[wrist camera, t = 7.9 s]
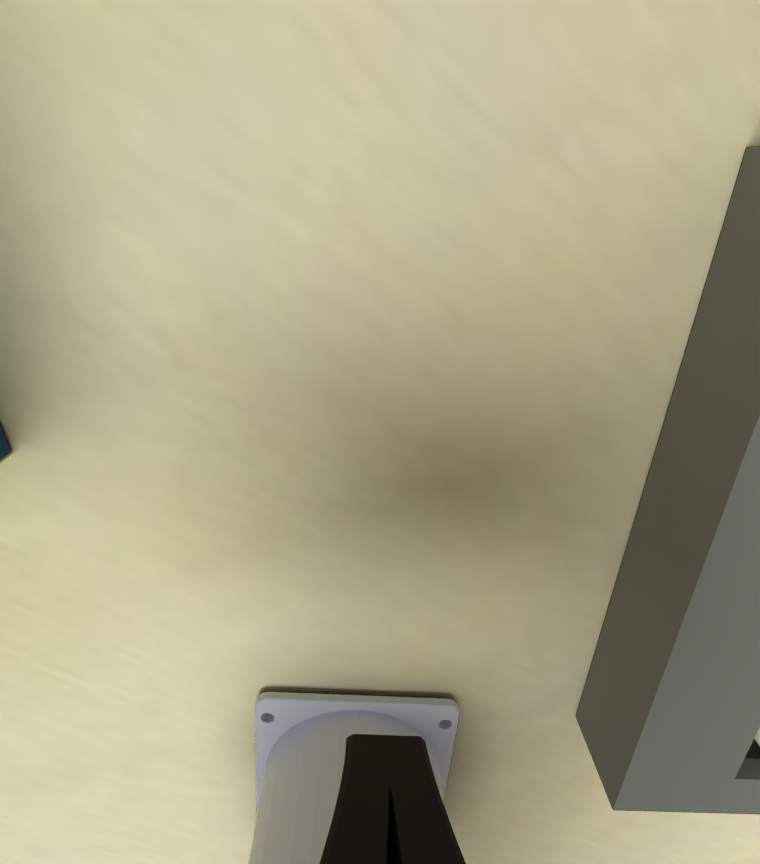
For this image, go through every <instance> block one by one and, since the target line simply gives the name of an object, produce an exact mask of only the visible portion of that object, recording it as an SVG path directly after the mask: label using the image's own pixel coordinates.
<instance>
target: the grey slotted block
mask: <svg viewBox="0 0 760 864" xmlns="http://www.w3.org/2000/svg"><path fill="white" fill-rule="evenodd" d="M576 718H577V721H578V723H579V726H580V728H581V731H582V733H583V736H584V739H585V741H586V744H587V746H588V749H589V751H590V754H591V756H592V759H593V761H594V764H595V766H596V769H597V771H598V774H599V776H600V779H601V781H602V784H603V786H604V789H605V792H606V794H607V797H608V799H609V802H610V804H611V807H612V809H613V810H625V811H660V812H694V813H729V814H760V746H759V744H758V743H757V742H756V740H755V739H754V738H755V736H756V734H757V732H758V730H759V728H760V146H755V147H747V148H746V151H745V154H744V158H743V161H742V164H741V168H740V171H739V174H738V178H737V181H736V184H735V188H734V191H733V194H732V198H731V201H730V204H729V208H728V211H727V214H726V218H725V221H724V224H723V228H722V231H721V234H720V238H719V241H718V244H717V248H716V251H715V254H714V258H713V261H712V264H711V268H710V271H709V274H708V278H707V281H706V284H705V288H704V291H703V294H702V298H701V301H700V304H699V308H698V311H697V314H696V318H695V321H694V324H693V328H692V331H691V334H690V338H689V341H688V344H687V348H686V351H685V354H684V358H683V361H682V364H681V368H680V371H679V374H678V378H677V381H676V384H675V388H674V391H673V394H672V398H671V401H670V404H669V408H668V411H667V414H666V418H665V421H664V424H663V428H662V431H661V434H660V438H659V441H658V444H657V448H656V451H655V454H654V458H653V461H652V464H651V468H650V471H649V474H648V478H647V481H646V484H645V488H644V491H643V494H642V498H641V501H640V504H639V507H638V511H637V514H636V517H635V521H634V524H633V527H632V531H631V534H630V537H629V541H628V544H627V547H626V551H625V554H624V557H623V561H622V564H621V567H620V571H619V574H618V577H617V581H616V584H615V587H614V591H613V594H612V597H611V601H610V604H609V607H608V611H607V614H606V617H605V621H604V624H603V627H602V631H601V634H600V637H599V641H598V644H597V647H596V651H595V654H594V657H593V661H592V664H591V667H590V671H589V674H588V677H587V681H586V684H585V687H584V691H583V694H582V697H581V701H580V704H579V707H578V711H577V714H576Z"/></svg>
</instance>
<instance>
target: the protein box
mask: <svg viewBox="0 0 760 864" xmlns="http://www.w3.org/2000/svg"><path fill="white" fill-rule="evenodd" d="M10 453H11V451H10V448H9V445H8V443H7V441H6V439H5V436H4V434H3V432H2V430H1V427H0V463H1V462H2V461H3V460H5V459H6V458H7V457H9V455H10Z"/></svg>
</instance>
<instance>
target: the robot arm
mask: <svg viewBox="0 0 760 864" xmlns="http://www.w3.org/2000/svg"><path fill="white" fill-rule="evenodd" d="M266 713H269V714H266ZM458 719H459V709H458V704H457V703H456V702H455V701H453V700H451V699H444V698H417V697H391V696H365V695H339V694H313V693H287V692H264V693H262V694H260V695H259V696H258V697H257V700H256V704H255V751H256V818H257V819H256V825H255V831H254V837H253V842H252V848H251V854H250V860H249V864H466V863H465V861H464V858H463V856H462V853H461V851H460V848H459V846H458V843H457V840H456V838H455V835H454V832H453V830H452V827H451V824H450V822H449V819H448V816H447V813H446V810H445V807H444V794H445V789H446V783H447V778H448V772H449V767H450V762H451V756H452V751H453V746H454V740H455V735H456V729H457V724H458Z"/></svg>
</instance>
